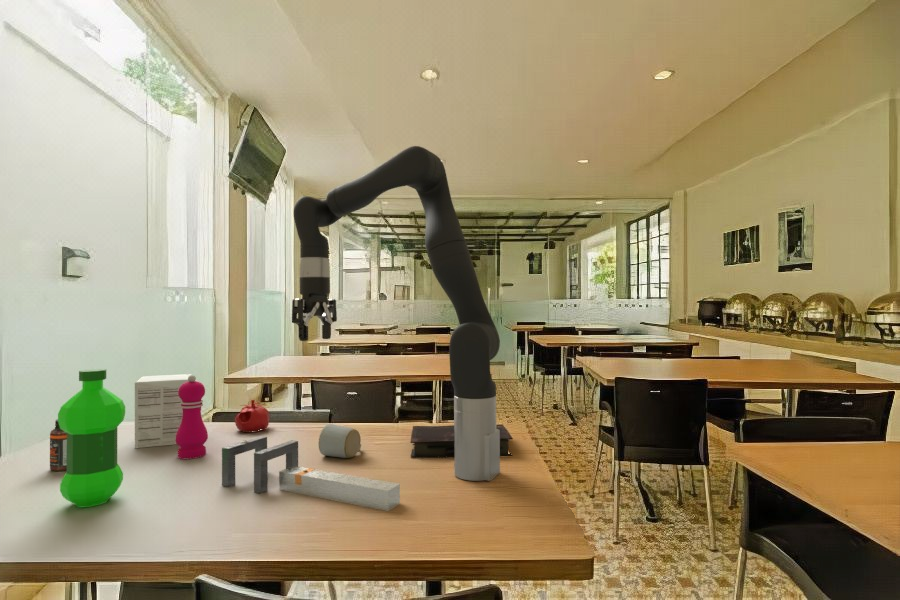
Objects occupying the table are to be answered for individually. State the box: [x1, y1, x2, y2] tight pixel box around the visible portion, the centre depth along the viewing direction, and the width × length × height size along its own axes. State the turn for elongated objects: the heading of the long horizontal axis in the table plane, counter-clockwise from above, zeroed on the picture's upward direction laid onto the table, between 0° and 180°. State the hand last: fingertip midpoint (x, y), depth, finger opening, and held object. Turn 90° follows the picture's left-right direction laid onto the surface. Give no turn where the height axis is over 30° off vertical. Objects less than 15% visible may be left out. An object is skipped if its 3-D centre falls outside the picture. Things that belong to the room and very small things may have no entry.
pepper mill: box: [175, 374, 209, 460], centre depth 128 cm, size 7×7×20 cm
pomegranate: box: [234, 398, 270, 433], centre depth 155 cm, size 10×10×9 cm
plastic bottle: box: [57, 368, 126, 508], centre depth 98 cm, size 10×10×25 cm
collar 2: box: [253, 439, 299, 494], centre depth 107 cm, size 2×11×8 cm, turn 154°
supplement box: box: [134, 373, 194, 449], centre depth 143 cm, size 13×13×18 cm
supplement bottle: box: [49, 418, 67, 472], centre depth 119 cm, size 6×6×11 cm
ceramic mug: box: [318, 423, 362, 459], centre depth 128 cm, size 11×8×8 cm
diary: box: [410, 424, 514, 459], centre depth 134 cm, size 19×25×5 cm
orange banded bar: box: [278, 465, 401, 512], centre depth 100 cm, size 26×4×4 cm, turn 64°
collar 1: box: [221, 435, 268, 488], centre depth 110 cm, size 2×11×8 cm, turn 154°
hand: (315, 339), depth 131 cm, fingers open, 8 cm apart
